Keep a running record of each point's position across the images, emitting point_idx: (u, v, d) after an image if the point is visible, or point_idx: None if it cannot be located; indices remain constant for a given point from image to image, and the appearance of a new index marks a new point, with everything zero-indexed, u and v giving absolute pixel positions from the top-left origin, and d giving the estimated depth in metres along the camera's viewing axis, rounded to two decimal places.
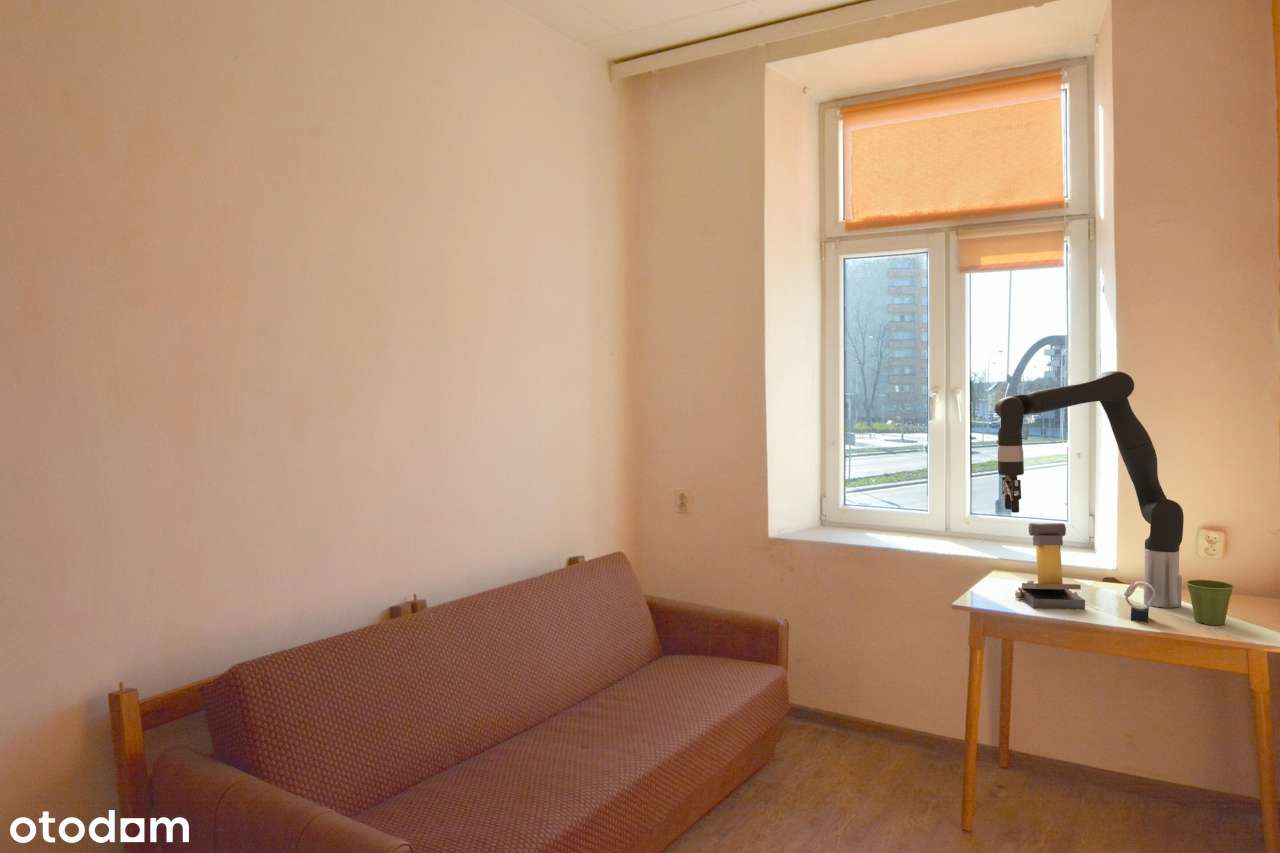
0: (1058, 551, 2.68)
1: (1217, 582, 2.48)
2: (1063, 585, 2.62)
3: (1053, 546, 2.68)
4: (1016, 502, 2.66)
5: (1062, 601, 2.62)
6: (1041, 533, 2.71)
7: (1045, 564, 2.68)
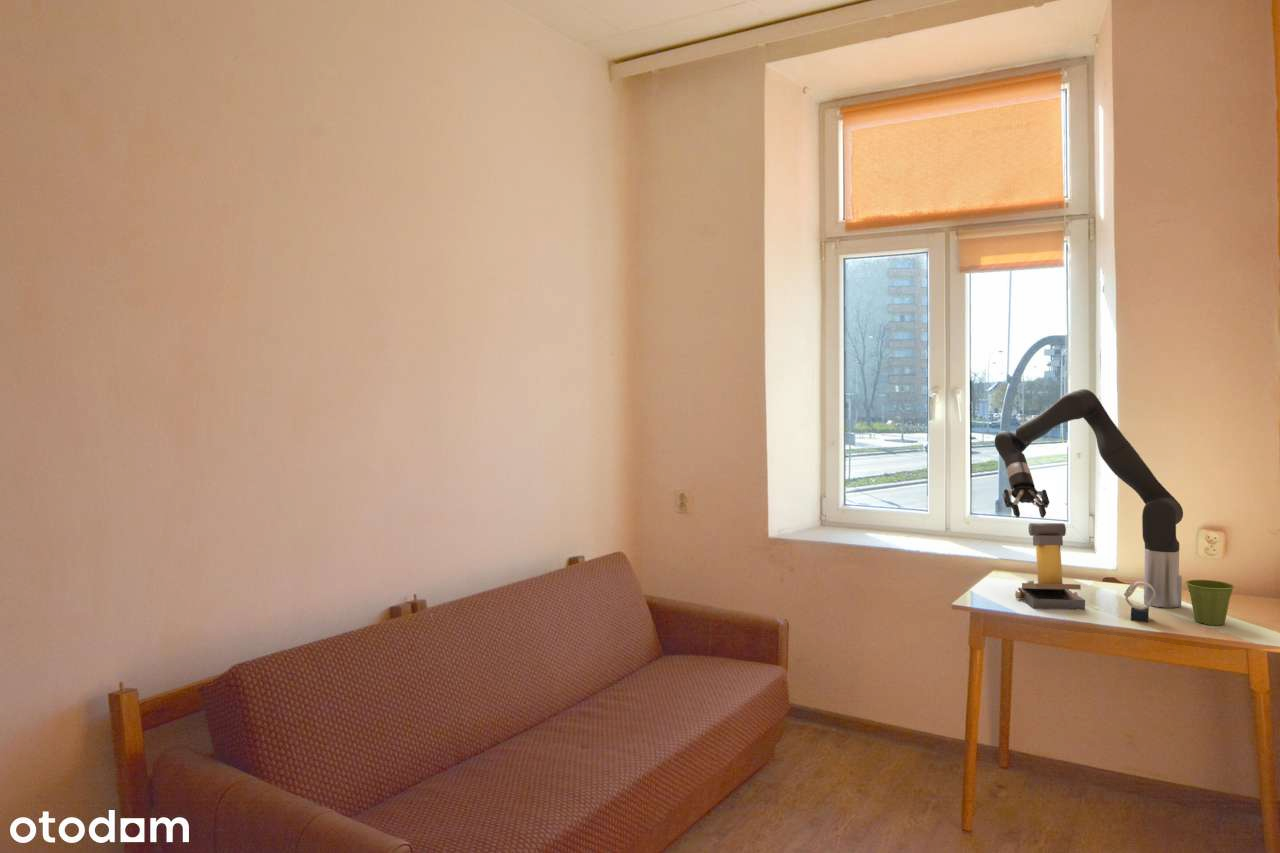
0: (1058, 551, 2.68)
1: (1217, 582, 2.48)
2: (1063, 585, 2.62)
3: (1053, 546, 2.68)
4: (1013, 507, 2.90)
5: (1062, 601, 2.62)
6: (1041, 533, 2.71)
7: (1045, 564, 2.68)
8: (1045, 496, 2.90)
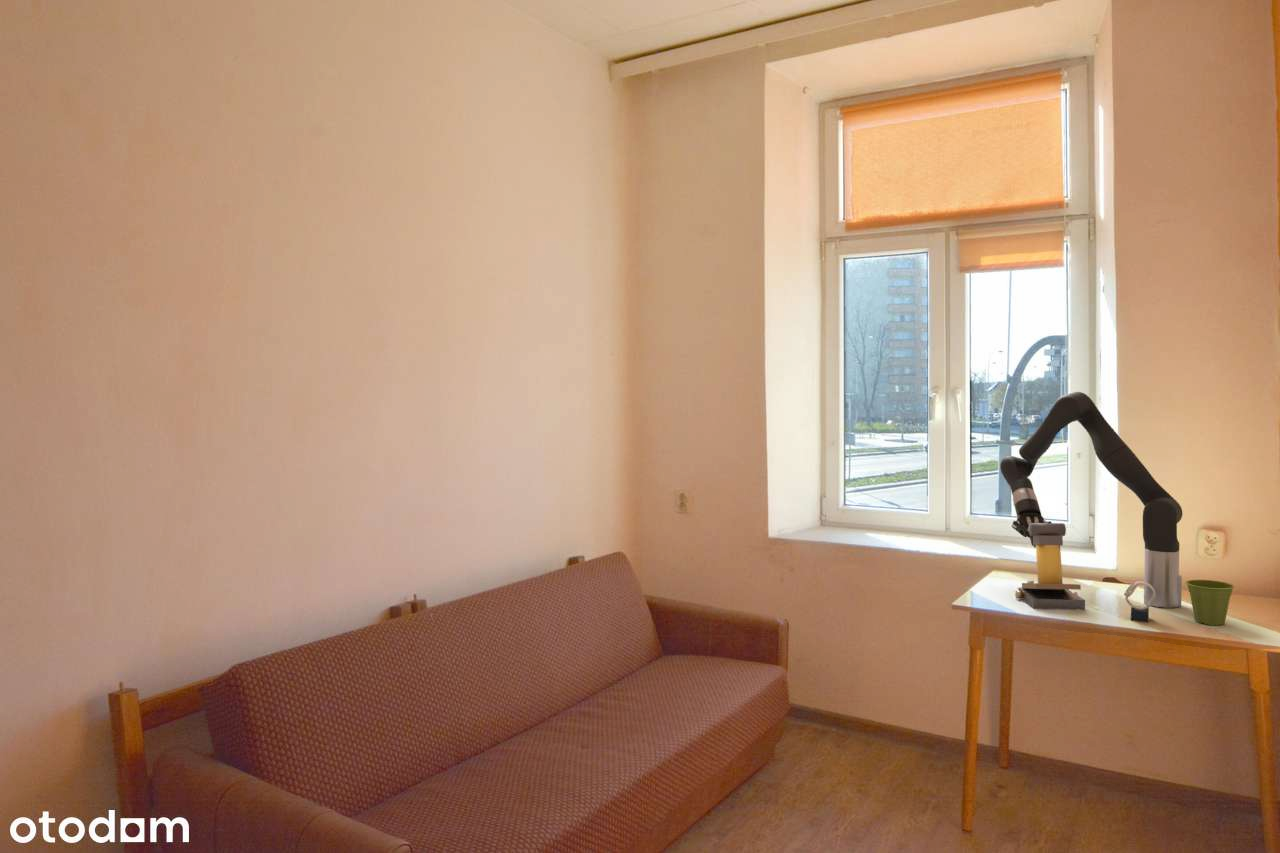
0: (1058, 551, 2.68)
1: (1217, 582, 2.48)
2: (1063, 585, 2.62)
3: (1053, 546, 2.68)
4: (1031, 537, 2.84)
5: (1062, 601, 2.62)
6: (1041, 533, 2.71)
7: (1045, 564, 2.68)
8: None
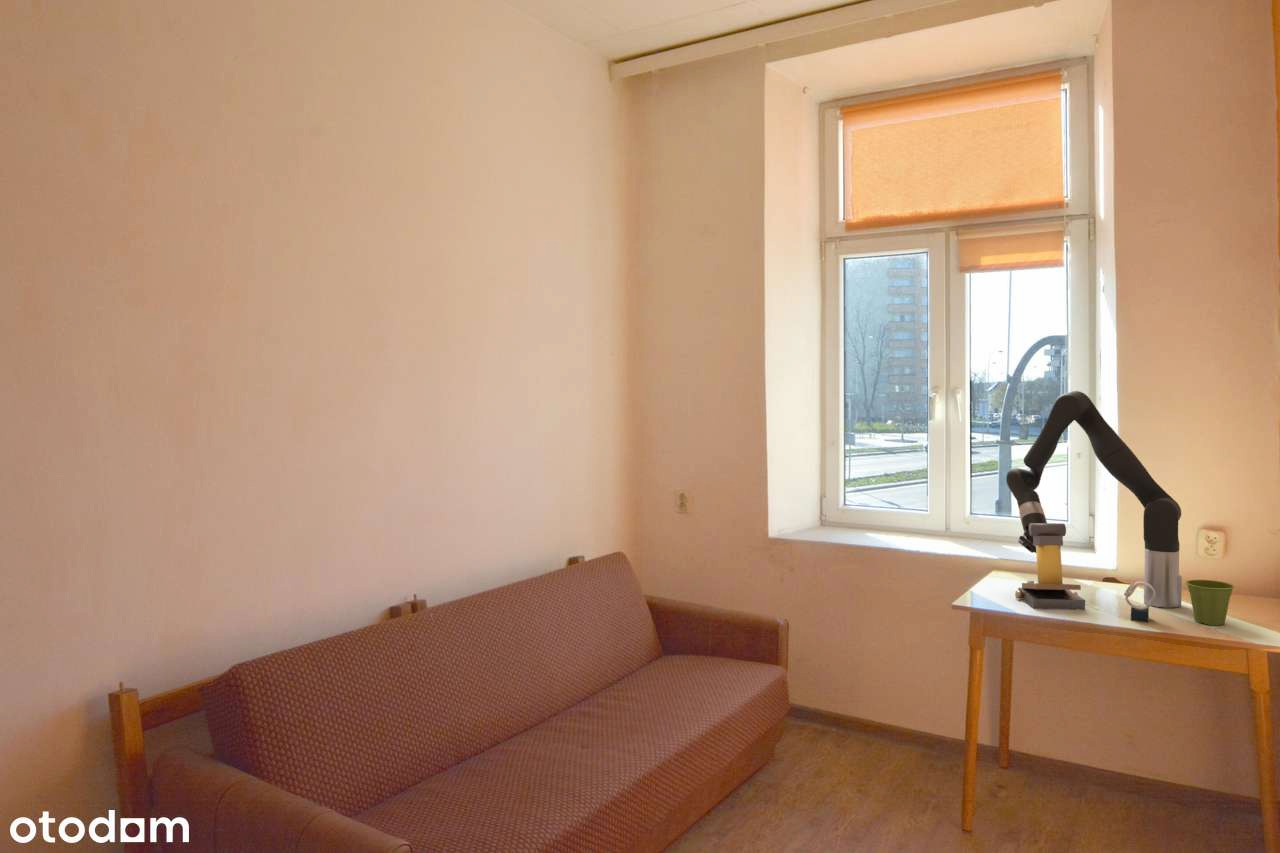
0: (1058, 551, 2.68)
1: (1217, 582, 2.48)
2: (1063, 585, 2.62)
3: (1053, 546, 2.68)
4: None
5: (1062, 601, 2.62)
6: (1041, 533, 2.71)
7: (1045, 565, 2.68)
8: None
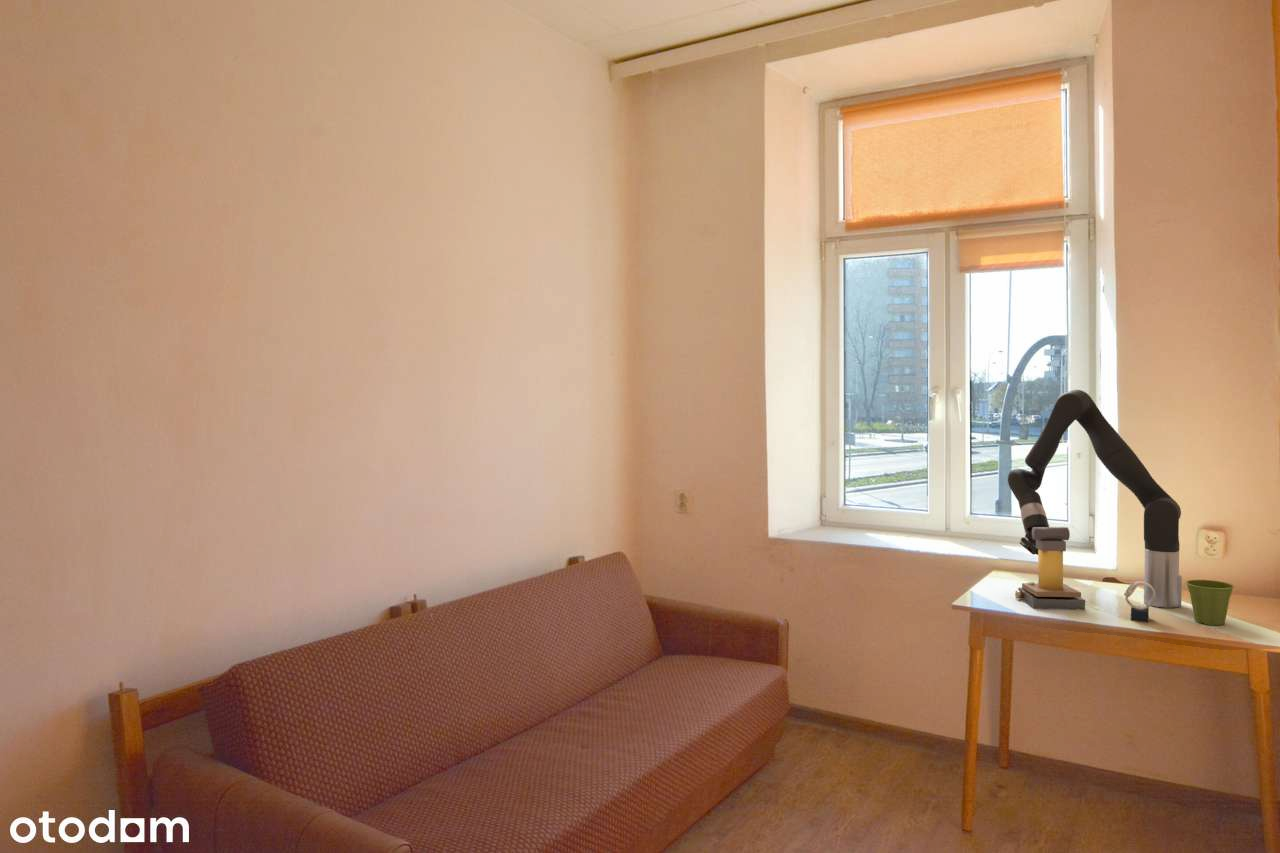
0: (1060, 557, 2.66)
1: (1217, 582, 2.48)
2: (1064, 593, 2.62)
3: (1056, 552, 2.65)
4: None
5: (1062, 601, 2.62)
6: (1044, 538, 2.68)
7: (1046, 570, 2.66)
8: None
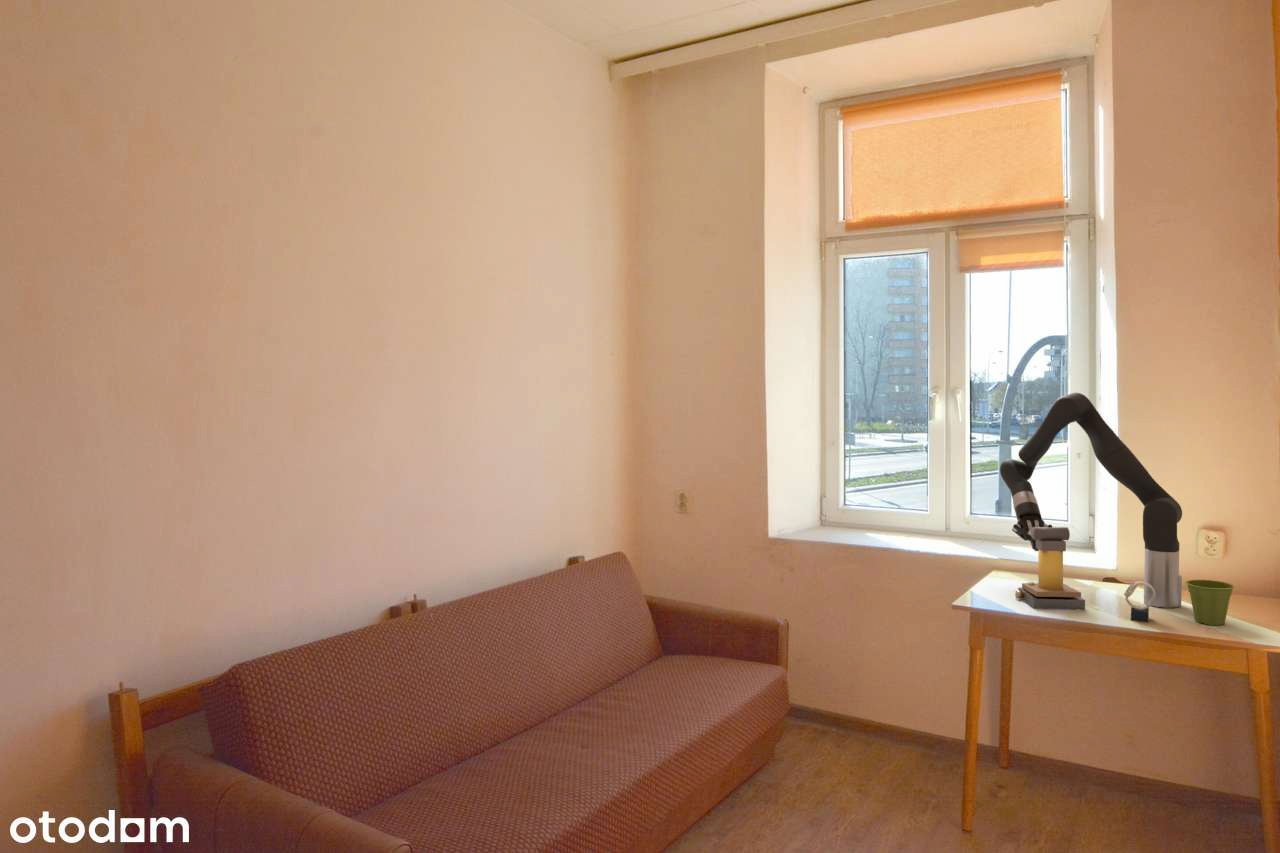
0: (1060, 557, 2.66)
1: (1217, 581, 2.48)
2: (1064, 593, 2.62)
3: (1056, 552, 2.65)
4: (1031, 541, 2.83)
5: (1062, 601, 2.62)
6: (1044, 538, 2.68)
7: (1046, 570, 2.66)
8: None
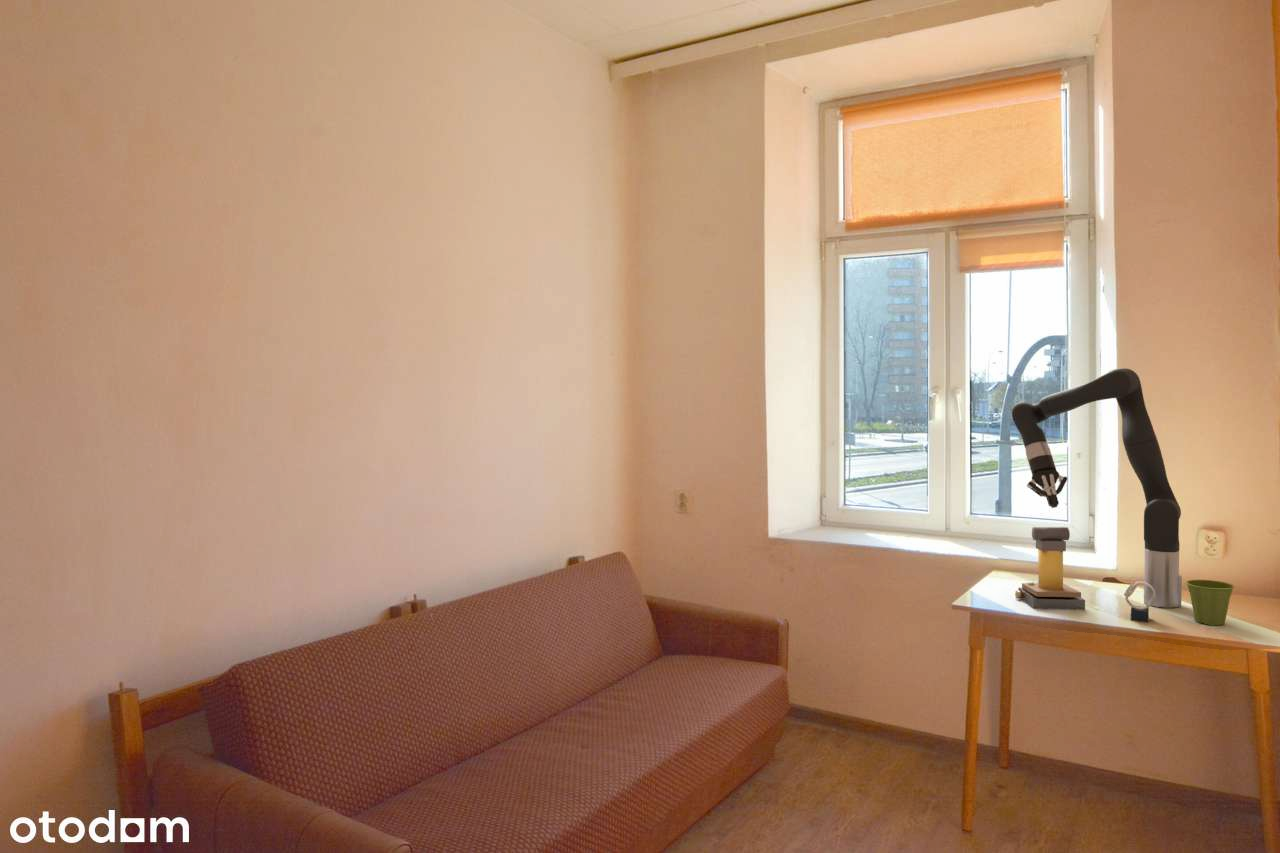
0: (1060, 557, 2.66)
1: (1217, 582, 2.48)
2: (1064, 593, 2.62)
3: (1056, 552, 2.65)
4: (1047, 498, 2.82)
5: (1062, 601, 2.62)
6: (1044, 538, 2.68)
7: (1046, 570, 2.66)
8: (1062, 484, 2.81)
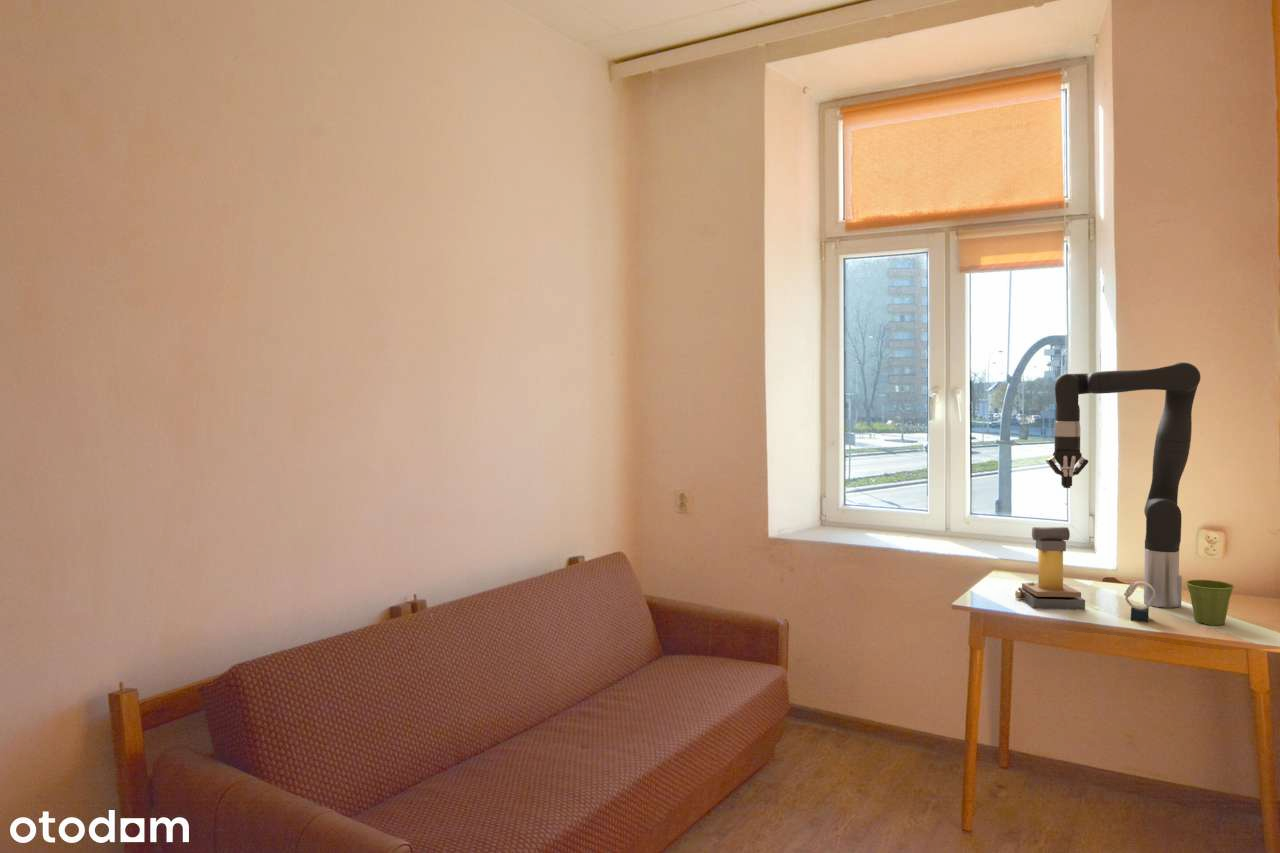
0: (1060, 557, 2.66)
1: (1217, 582, 2.48)
2: (1064, 593, 2.62)
3: (1056, 552, 2.65)
4: (1062, 478, 2.79)
5: (1062, 601, 2.62)
6: (1044, 538, 2.68)
7: (1046, 570, 2.66)
8: (1081, 466, 2.77)
